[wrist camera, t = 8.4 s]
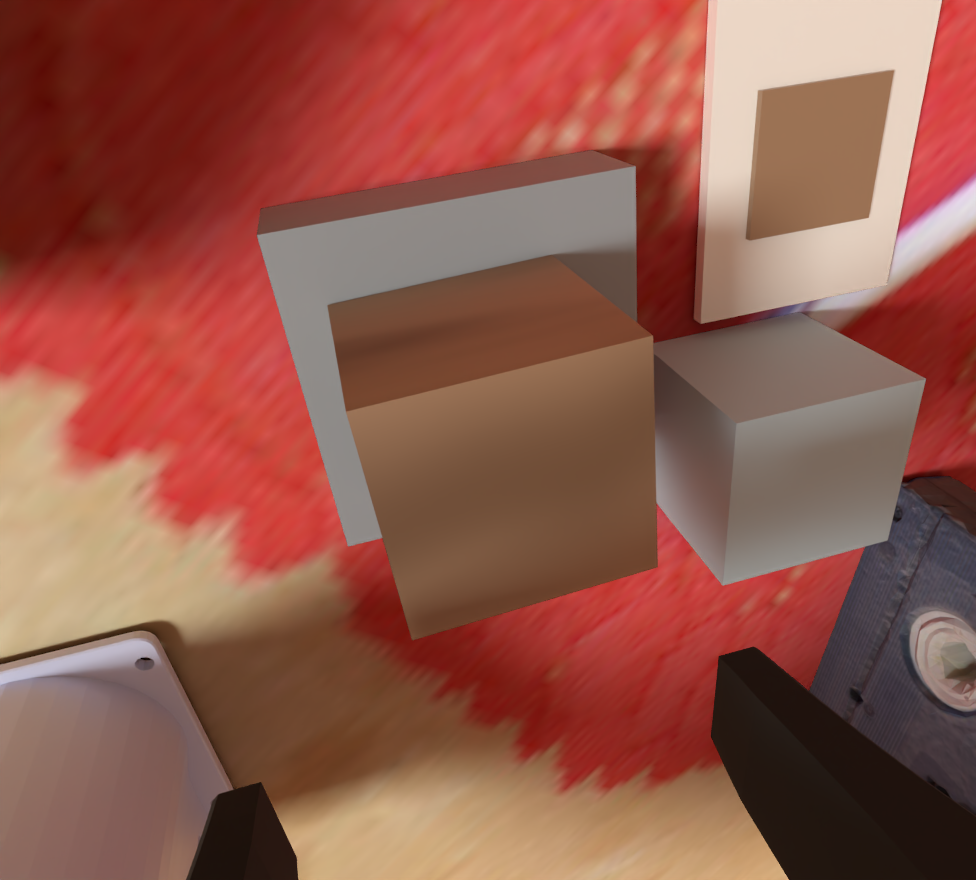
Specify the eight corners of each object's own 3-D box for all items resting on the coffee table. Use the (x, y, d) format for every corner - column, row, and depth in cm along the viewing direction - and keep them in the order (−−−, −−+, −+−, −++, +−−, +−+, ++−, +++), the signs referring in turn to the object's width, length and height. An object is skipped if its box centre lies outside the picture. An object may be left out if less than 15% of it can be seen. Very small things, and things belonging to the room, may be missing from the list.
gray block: (779, 450, 24) (887, 540, 19) (642, 485, 23) (722, 585, 19) (797, 310, 21) (926, 378, 17) (642, 343, 20) (736, 423, 16)
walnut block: (569, 443, 18) (657, 567, 14) (379, 494, 17) (412, 640, 13) (551, 254, 15) (653, 335, 11) (327, 305, 15) (345, 412, 11)
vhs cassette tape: (810, 781, 35) (976, 1015, 27) (759, 792, 34) (912, 1036, 26) (956, 467, 26) (1271, 669, 18) (890, 473, 25) (1187, 685, 17)
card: (877, 281, 21) (892, 287, 20) (693, 319, 20) (704, 326, 20) (936, -40, 17) (956, -43, 16) (709, -11, 16) (722, -12, 15)
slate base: (597, 422, 22) (638, 473, 19) (340, 483, 20) (348, 546, 18) (584, 147, 17) (635, 166, 15) (261, 204, 16) (256, 235, 14)
